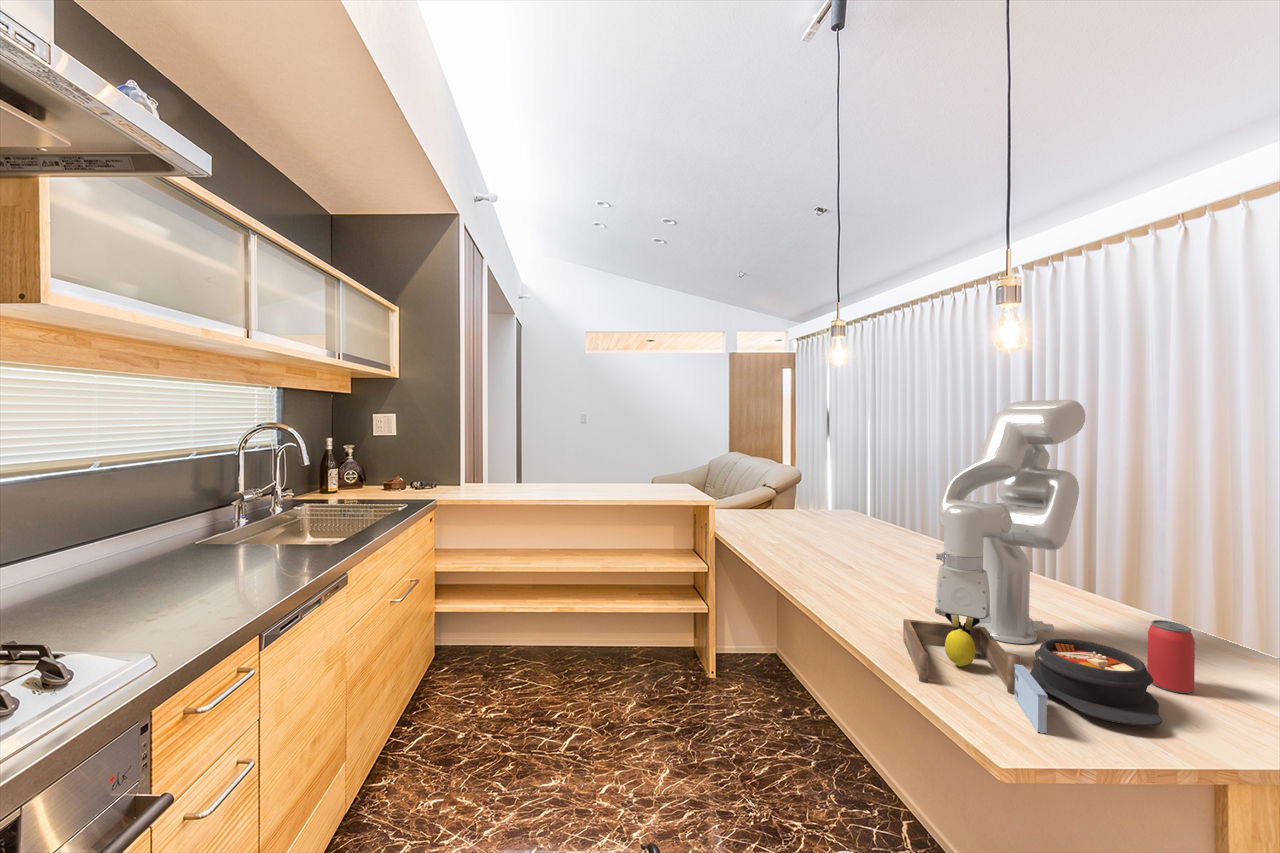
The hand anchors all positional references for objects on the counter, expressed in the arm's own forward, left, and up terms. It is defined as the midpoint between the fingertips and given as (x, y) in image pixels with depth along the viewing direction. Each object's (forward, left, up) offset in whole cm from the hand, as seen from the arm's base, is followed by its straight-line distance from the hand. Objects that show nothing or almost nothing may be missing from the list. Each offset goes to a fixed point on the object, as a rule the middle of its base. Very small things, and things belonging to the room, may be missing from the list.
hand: (961, 644), depth 120 cm
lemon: (+2, +7, -2) cm, 8 cm away
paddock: (+3, +6, -2) cm, 7 cm away
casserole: (-18, +14, -3) cm, 23 cm away
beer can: (-35, +4, -2) cm, 35 cm away
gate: (-5, +24, -2) cm, 25 cm away
